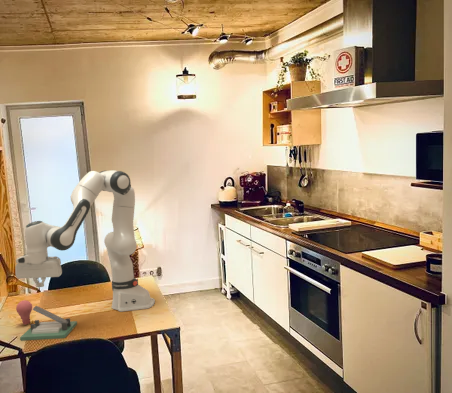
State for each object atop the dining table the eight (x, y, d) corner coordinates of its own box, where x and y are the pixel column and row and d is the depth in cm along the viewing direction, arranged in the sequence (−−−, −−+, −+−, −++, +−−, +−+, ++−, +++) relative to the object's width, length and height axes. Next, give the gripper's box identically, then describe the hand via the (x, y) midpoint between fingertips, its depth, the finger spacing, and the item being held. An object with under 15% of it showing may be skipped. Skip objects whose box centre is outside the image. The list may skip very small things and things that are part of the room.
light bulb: (18, 328, 218) (15, 304, 217) (18, 323, 225) (15, 300, 223) (34, 325, 221) (31, 301, 220) (34, 320, 227) (31, 297, 226)
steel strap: (68, 323, 213) (69, 320, 212) (65, 326, 210) (67, 323, 209) (35, 308, 212) (36, 305, 212) (32, 310, 209) (33, 307, 209)
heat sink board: (77, 324, 219) (76, 314, 219) (64, 338, 203) (63, 327, 203) (35, 326, 220) (34, 316, 219) (20, 340, 204) (19, 329, 203)
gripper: (62, 254, 211) (65, 283, 212) (18, 256, 211) (21, 285, 213) (57, 257, 205) (60, 287, 206) (12, 259, 205) (15, 289, 206)
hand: (40, 286), depth 209 cm, fingers closed
